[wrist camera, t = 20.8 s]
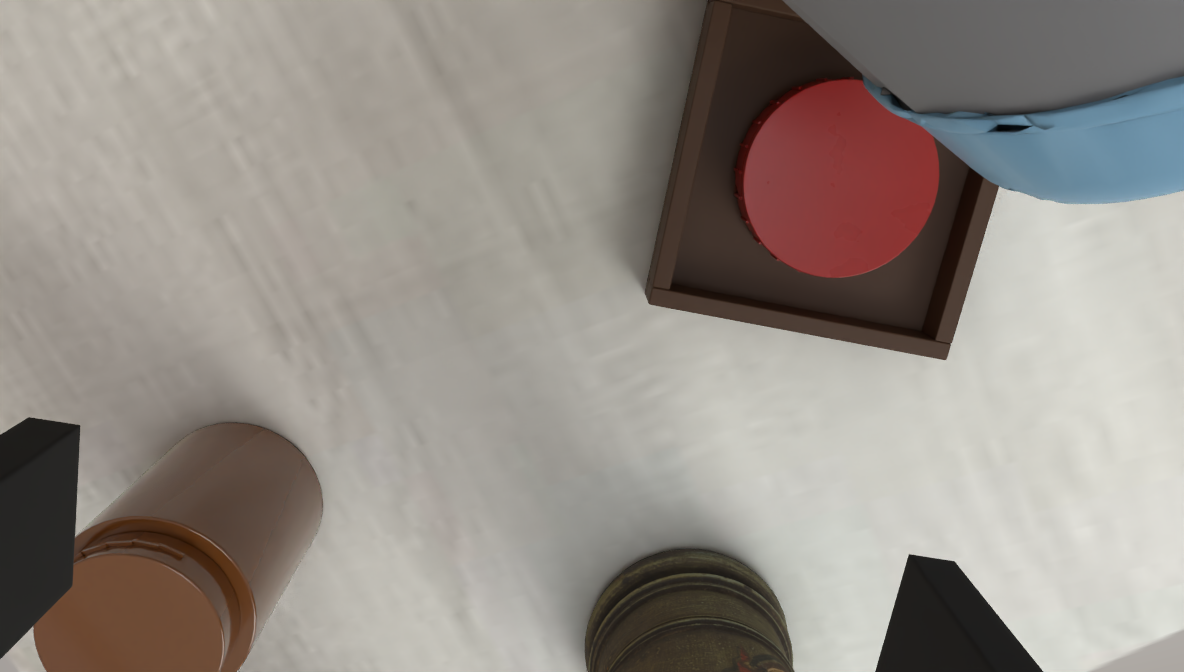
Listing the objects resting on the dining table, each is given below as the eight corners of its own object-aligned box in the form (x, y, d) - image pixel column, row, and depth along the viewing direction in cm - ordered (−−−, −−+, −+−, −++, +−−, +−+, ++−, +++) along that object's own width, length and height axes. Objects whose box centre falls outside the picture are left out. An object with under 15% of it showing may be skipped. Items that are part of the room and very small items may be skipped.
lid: (891, 287, 38) (907, 297, 37) (712, 249, 38) (720, 257, 36) (947, 100, 37) (967, 102, 35) (760, 58, 36) (770, 57, 34)
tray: (711, -16, 36) (718, -21, 34) (1016, 49, 37) (1041, 47, 35) (644, 293, 39) (648, 304, 37) (928, 347, 40) (946, 360, 38)
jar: (163, 408, 40) (21, 521, 29) (333, 438, 40) (251, 560, 30) (149, 559, 41) (11, 716, 31) (312, 586, 42) (228, 749, 32)
